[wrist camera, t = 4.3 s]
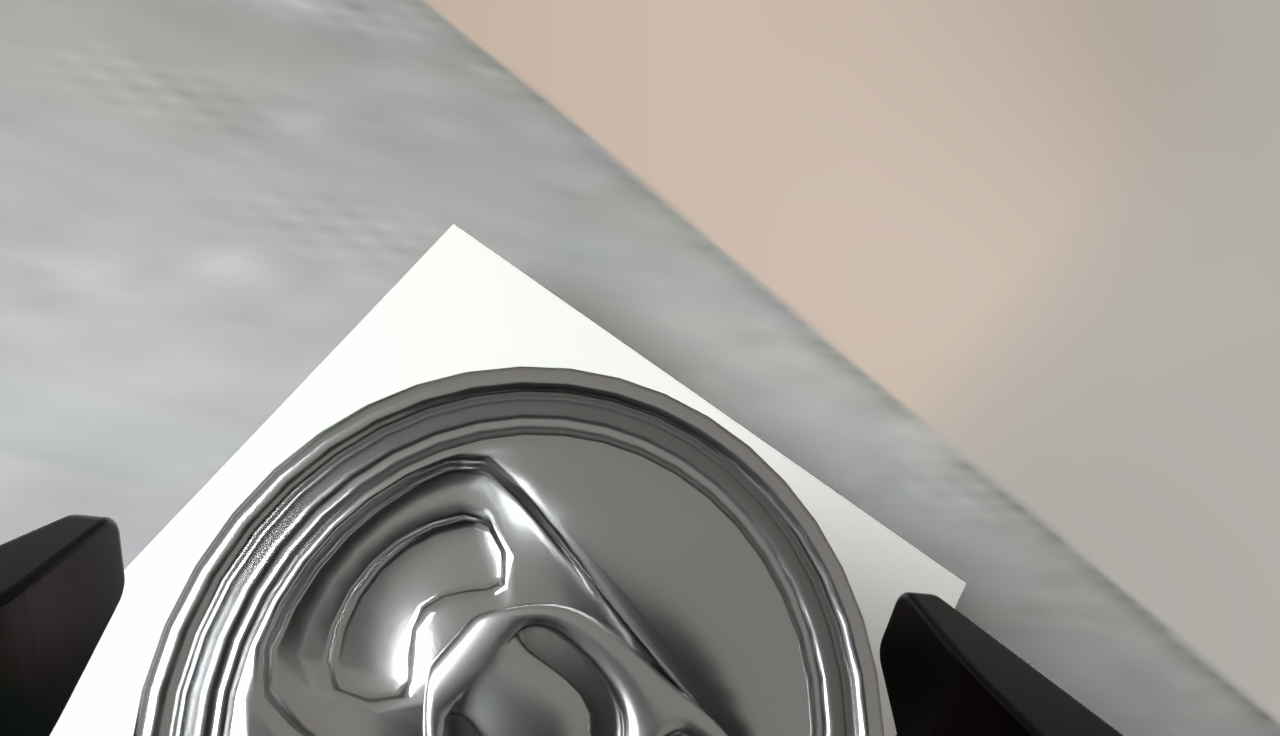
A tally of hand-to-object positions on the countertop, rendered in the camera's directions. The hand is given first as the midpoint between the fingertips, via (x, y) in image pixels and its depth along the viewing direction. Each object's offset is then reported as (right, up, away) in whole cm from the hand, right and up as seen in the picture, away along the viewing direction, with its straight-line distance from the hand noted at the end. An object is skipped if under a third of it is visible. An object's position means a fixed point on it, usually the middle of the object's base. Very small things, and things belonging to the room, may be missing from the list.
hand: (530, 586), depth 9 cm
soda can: (-1, -4, +7) cm, 8 cm away
